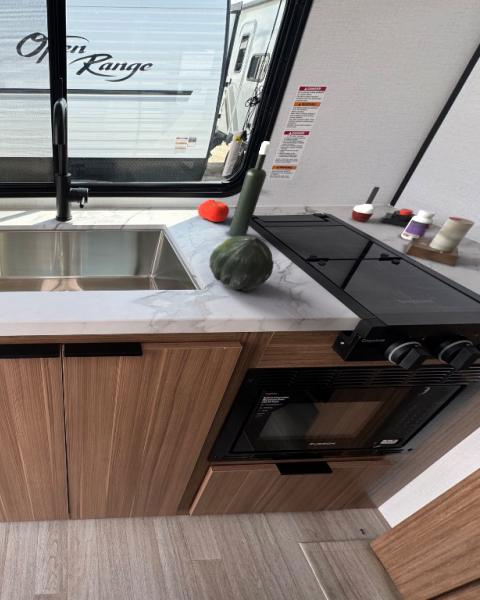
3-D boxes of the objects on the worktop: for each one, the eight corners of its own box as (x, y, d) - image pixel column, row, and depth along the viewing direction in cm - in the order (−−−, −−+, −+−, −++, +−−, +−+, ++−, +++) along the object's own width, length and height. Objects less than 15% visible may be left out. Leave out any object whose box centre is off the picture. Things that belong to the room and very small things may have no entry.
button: (410, 214, 123) (413, 210, 122) (410, 217, 121) (413, 212, 120) (398, 212, 125) (401, 207, 124) (398, 214, 123) (400, 210, 122)
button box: (416, 224, 125) (422, 214, 123) (415, 230, 120) (422, 219, 118) (383, 217, 130) (389, 207, 128) (381, 222, 126) (387, 212, 123)
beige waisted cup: (453, 247, 101) (474, 219, 96) (453, 253, 98) (476, 224, 92) (429, 242, 104) (449, 214, 99) (429, 247, 101) (449, 219, 95)
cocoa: (359, 224, 124) (376, 193, 117) (343, 218, 128) (358, 188, 122) (375, 221, 127) (392, 190, 120) (358, 216, 131) (375, 186, 125)
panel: (455, 256, 103) (462, 247, 101) (456, 267, 97) (463, 257, 95) (407, 244, 109) (413, 236, 108) (405, 254, 103) (411, 245, 102)
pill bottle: (421, 242, 111) (440, 215, 105) (402, 239, 113) (419, 212, 108) (418, 237, 115) (436, 210, 109) (399, 233, 117) (416, 207, 111)
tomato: (213, 226, 120) (218, 209, 116) (192, 216, 128) (195, 200, 124) (231, 221, 124) (236, 204, 120) (209, 212, 132) (213, 196, 128)
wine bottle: (249, 236, 113) (281, 142, 95) (236, 238, 111) (266, 143, 94) (237, 230, 117) (266, 139, 100) (224, 232, 115) (252, 140, 98)
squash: (231, 244, 95) (227, 216, 82) (283, 264, 86) (288, 237, 74) (203, 283, 94) (195, 261, 82) (253, 308, 86) (253, 287, 74)
